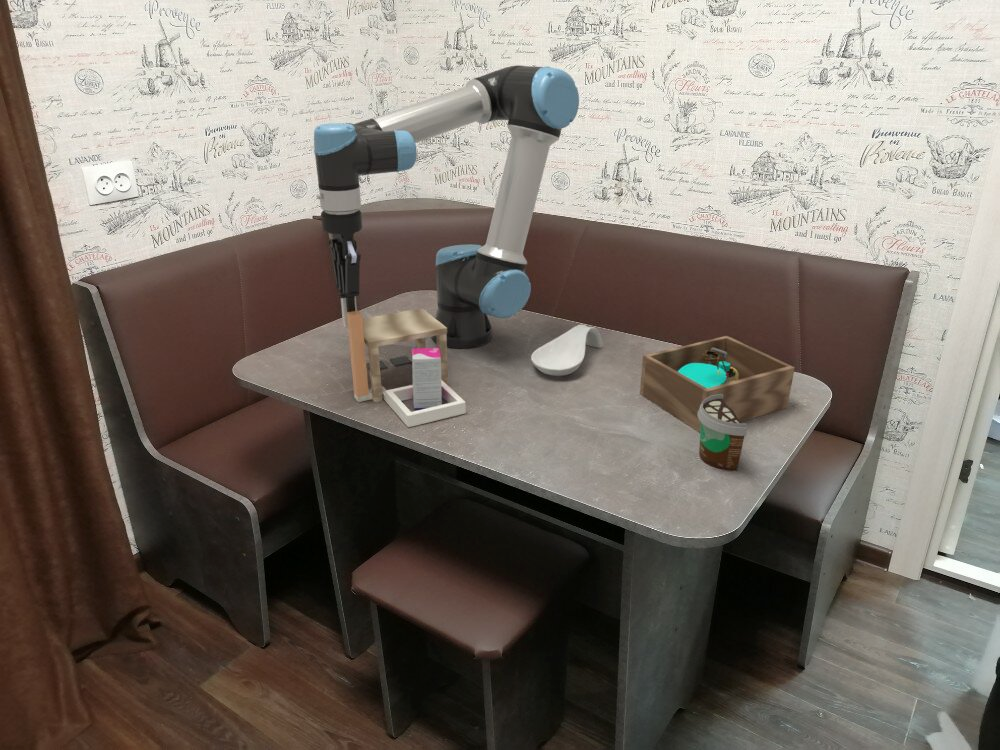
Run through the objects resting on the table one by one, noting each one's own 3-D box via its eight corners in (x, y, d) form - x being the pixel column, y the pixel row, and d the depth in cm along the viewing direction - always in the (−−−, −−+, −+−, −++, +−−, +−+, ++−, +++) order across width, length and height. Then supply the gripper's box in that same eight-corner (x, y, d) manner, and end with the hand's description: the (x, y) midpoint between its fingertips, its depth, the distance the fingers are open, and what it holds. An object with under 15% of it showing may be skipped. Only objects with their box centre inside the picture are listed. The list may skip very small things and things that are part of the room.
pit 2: (405, 357, 175) (405, 355, 175) (412, 363, 172) (412, 361, 172) (389, 360, 173) (389, 358, 173) (396, 366, 170) (395, 365, 170)
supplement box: (442, 409, 151) (441, 357, 147) (413, 411, 151) (410, 359, 146) (441, 396, 157) (439, 346, 152) (412, 398, 156) (410, 348, 151)
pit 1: (381, 362, 173) (381, 360, 172) (387, 368, 169) (387, 366, 169) (365, 365, 171) (365, 363, 171) (370, 371, 168) (370, 370, 167)
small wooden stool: (424, 363, 172) (421, 308, 166) (448, 385, 161) (447, 327, 155) (353, 377, 165) (348, 320, 159) (374, 402, 154) (369, 342, 148)
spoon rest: (566, 387, 161) (568, 357, 158) (521, 374, 167) (521, 345, 164) (614, 351, 179) (616, 323, 176) (571, 340, 185) (573, 313, 182)
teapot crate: (721, 372, 167) (726, 335, 164) (787, 407, 152) (794, 367, 148) (639, 394, 158) (643, 355, 154) (701, 433, 142) (706, 391, 139)
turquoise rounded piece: (764, 401, 155) (776, 334, 149) (716, 429, 144) (726, 358, 138) (706, 379, 165) (715, 315, 158) (656, 404, 154) (663, 337, 147)
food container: (683, 441, 140) (689, 393, 136) (715, 440, 140) (722, 392, 136) (705, 477, 129) (712, 426, 125) (739, 475, 129) (748, 425, 125)
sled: (431, 380, 163) (428, 298, 155) (465, 413, 150) (463, 325, 142) (354, 397, 156) (346, 312, 148) (382, 433, 142) (375, 341, 134)
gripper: (312, 204, 144) (323, 318, 155) (331, 219, 134) (342, 339, 144) (349, 201, 148) (358, 312, 158) (371, 215, 137) (379, 333, 148)
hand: (350, 325), depth 151 cm, fingers closed
